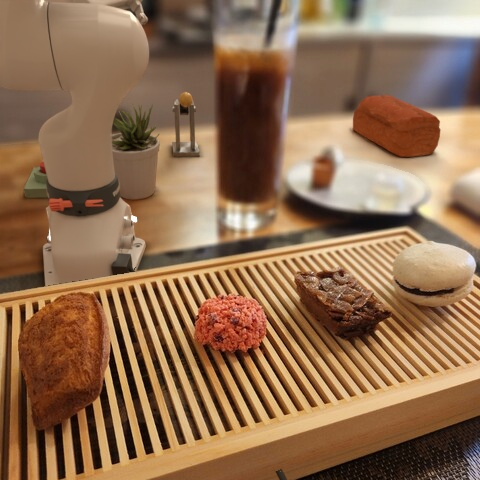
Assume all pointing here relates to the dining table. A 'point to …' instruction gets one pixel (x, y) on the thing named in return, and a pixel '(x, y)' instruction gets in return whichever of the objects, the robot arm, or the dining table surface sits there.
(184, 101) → the lever
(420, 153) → the bread
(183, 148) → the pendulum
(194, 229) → the dining table surface
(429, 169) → the dining table surface
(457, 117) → the dining table surface
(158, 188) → the dining table surface
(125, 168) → the potted plant
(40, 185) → the green button base
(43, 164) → the lock button
